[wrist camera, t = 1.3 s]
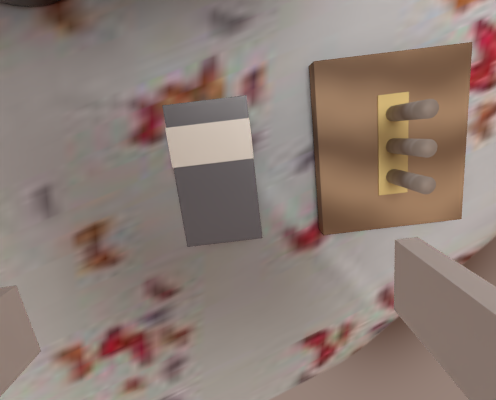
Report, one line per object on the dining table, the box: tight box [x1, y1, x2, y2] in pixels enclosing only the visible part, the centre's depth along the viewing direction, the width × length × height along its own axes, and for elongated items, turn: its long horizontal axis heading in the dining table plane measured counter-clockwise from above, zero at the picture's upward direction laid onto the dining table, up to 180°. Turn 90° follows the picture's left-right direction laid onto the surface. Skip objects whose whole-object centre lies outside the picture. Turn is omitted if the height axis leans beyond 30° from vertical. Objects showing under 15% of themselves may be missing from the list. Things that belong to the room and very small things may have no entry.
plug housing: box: [162, 95, 262, 247], centre depth 21 cm, size 9×5×7 cm, turn 7°
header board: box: [309, 42, 472, 235], centre depth 21 cm, size 14×12×6 cm
